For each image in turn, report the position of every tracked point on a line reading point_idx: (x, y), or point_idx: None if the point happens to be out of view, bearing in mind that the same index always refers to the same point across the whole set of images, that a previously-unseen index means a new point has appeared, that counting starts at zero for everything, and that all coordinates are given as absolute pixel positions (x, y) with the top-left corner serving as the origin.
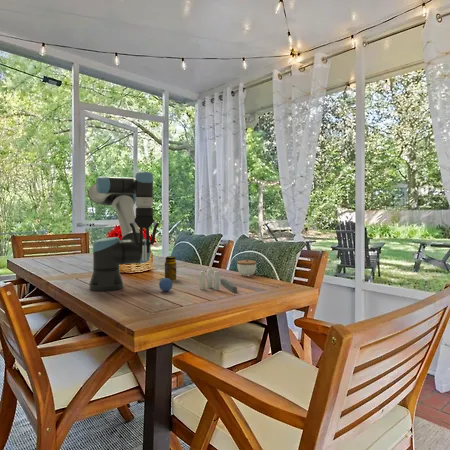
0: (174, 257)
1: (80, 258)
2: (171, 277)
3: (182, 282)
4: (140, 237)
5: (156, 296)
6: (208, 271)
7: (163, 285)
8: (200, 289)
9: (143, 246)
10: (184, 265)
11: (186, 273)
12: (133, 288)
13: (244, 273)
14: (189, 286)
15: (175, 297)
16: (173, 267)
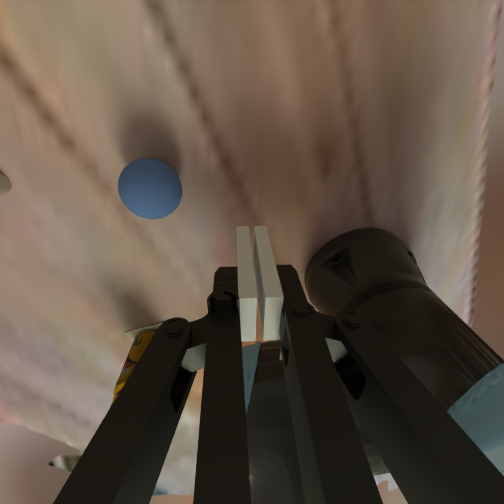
0: None
1: None
2: (147, 336)
3: (108, 300)
4: (334, 393)
5: (196, 90)
6: None
7: (159, 163)
8: (6, 177)
9: (272, 295)
10: None
11: (111, 391)
12: (275, 250)
13: None
14: (70, 241)
15: (101, 37)
16: (129, 367)
